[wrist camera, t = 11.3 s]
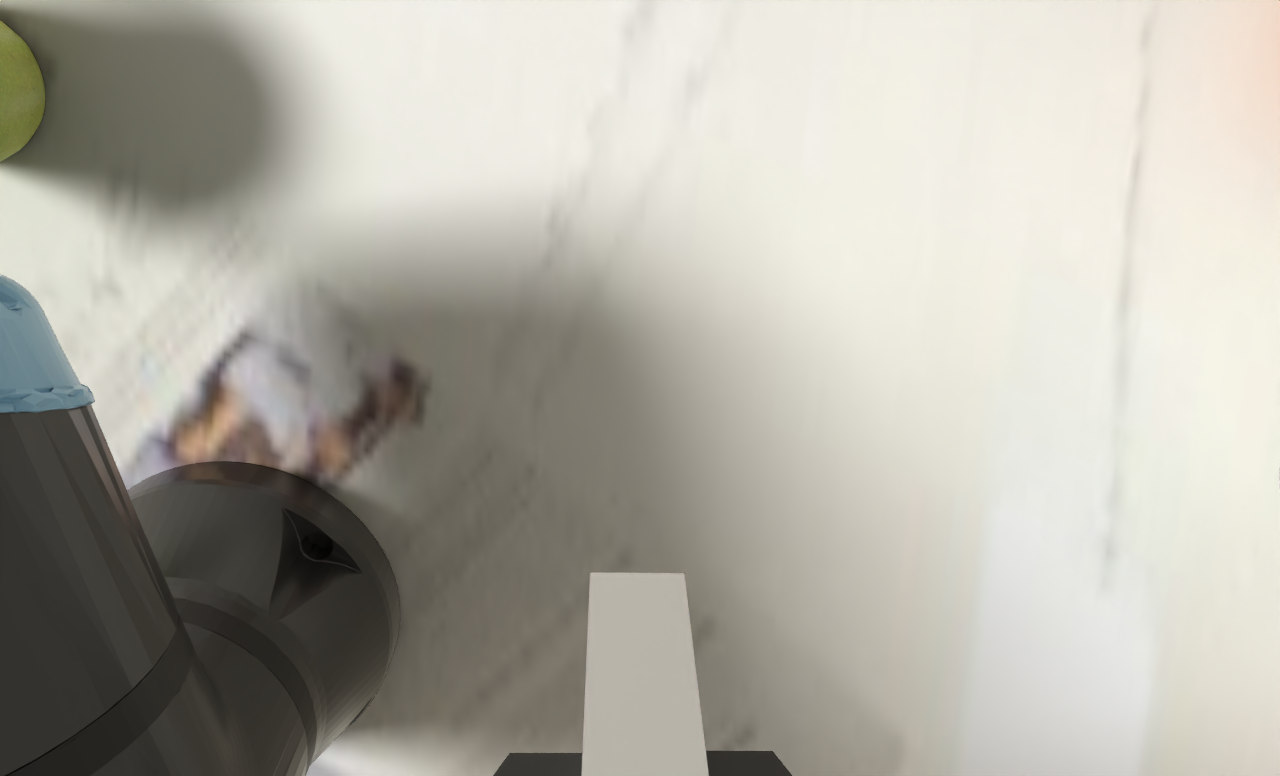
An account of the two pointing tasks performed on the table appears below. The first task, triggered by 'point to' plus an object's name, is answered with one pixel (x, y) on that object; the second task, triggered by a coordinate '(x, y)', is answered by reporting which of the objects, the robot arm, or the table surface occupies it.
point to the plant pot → (18, 93)
